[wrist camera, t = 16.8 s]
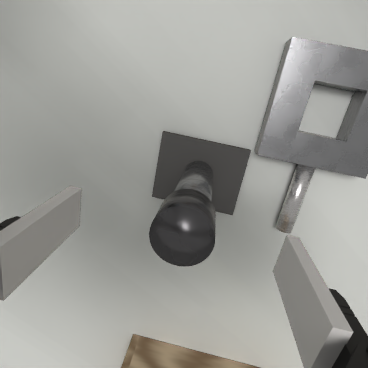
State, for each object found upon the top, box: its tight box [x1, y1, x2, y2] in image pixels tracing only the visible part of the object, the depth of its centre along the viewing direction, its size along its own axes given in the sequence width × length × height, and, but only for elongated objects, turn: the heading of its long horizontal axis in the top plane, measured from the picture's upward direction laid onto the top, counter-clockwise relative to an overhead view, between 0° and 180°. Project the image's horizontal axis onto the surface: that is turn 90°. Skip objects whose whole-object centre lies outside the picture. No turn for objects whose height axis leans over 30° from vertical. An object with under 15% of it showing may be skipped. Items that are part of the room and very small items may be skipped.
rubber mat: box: [152, 131, 251, 215], centre depth 30 cm, size 10×8×1 cm
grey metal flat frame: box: [255, 37, 368, 233], centre depth 27 cm, size 11×19×2 cm, turn 169°
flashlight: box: [149, 161, 216, 266], centre depth 23 cm, size 4×4×14 cm
